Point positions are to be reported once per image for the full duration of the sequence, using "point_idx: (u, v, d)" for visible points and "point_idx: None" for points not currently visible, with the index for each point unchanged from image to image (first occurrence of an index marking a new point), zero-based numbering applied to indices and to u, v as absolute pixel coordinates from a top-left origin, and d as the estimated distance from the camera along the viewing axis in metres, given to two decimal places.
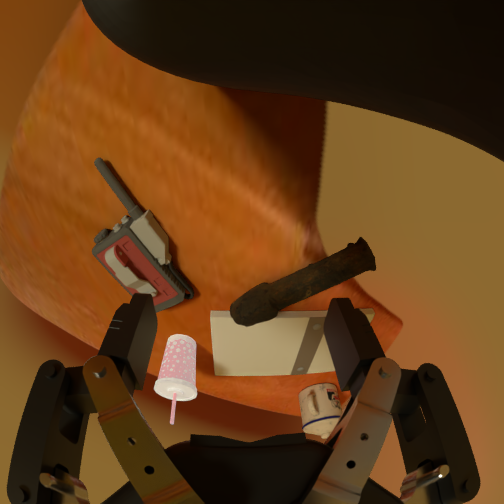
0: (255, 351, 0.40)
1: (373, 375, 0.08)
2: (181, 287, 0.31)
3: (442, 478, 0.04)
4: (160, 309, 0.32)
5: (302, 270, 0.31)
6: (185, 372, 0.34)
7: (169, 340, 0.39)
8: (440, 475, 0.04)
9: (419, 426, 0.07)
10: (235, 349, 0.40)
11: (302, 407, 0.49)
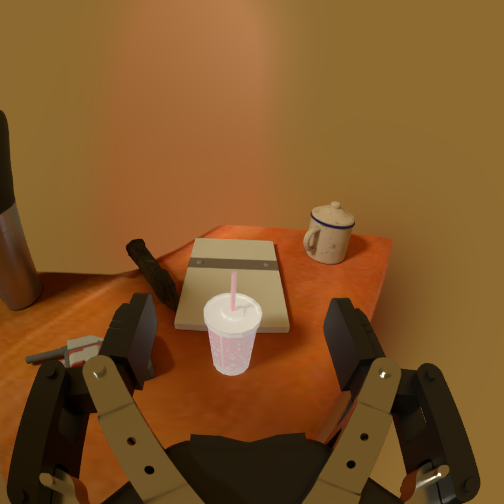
0: None
1: (373, 375, 0.08)
2: None
3: (442, 478, 0.04)
4: None
5: None
6: None
7: (218, 367, 0.31)
8: (440, 475, 0.04)
9: (419, 426, 0.07)
10: None
11: (330, 247, 0.51)
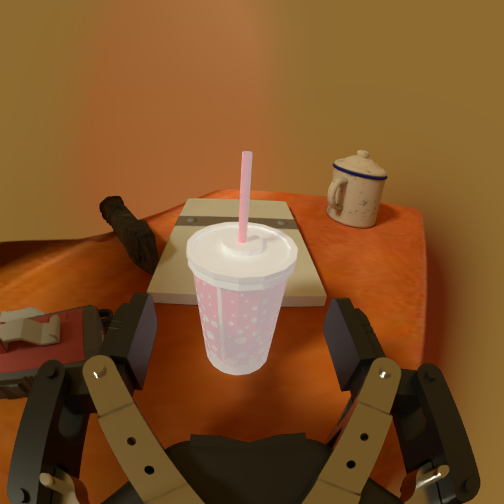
0: None
1: (373, 375, 0.08)
2: None
3: (442, 478, 0.04)
4: (94, 335, 0.16)
5: (115, 232, 0.32)
6: None
7: (214, 360, 0.17)
8: (440, 475, 0.04)
9: (419, 426, 0.07)
10: None
11: (361, 204, 0.38)
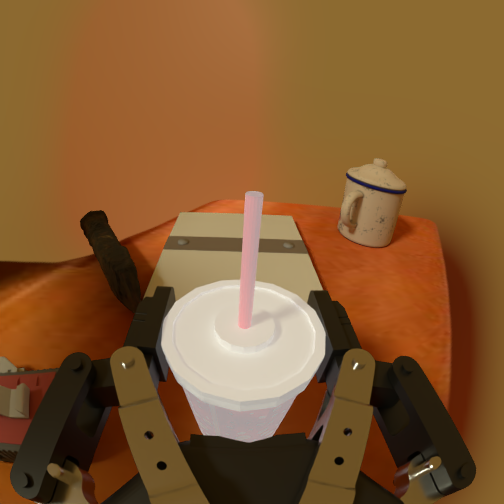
0: None
1: (346, 368, 0.08)
2: None
3: (435, 469, 0.04)
4: None
5: (96, 256, 0.27)
6: None
7: None
8: (433, 467, 0.04)
9: (402, 418, 0.08)
10: None
11: (378, 221, 0.33)
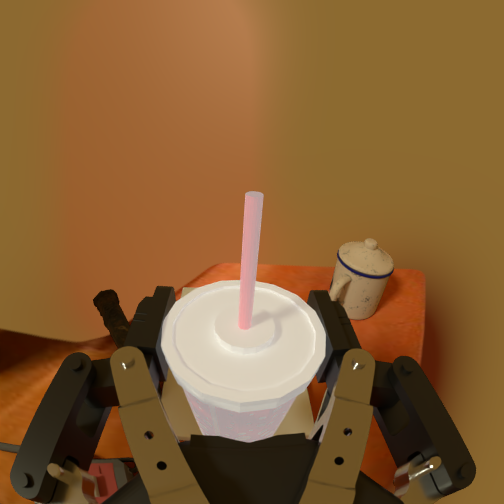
0: None
1: (347, 368, 0.08)
2: None
3: (435, 469, 0.04)
4: None
5: (114, 341, 0.31)
6: None
7: None
8: (433, 467, 0.04)
9: (402, 418, 0.08)
10: None
11: (363, 300, 0.37)
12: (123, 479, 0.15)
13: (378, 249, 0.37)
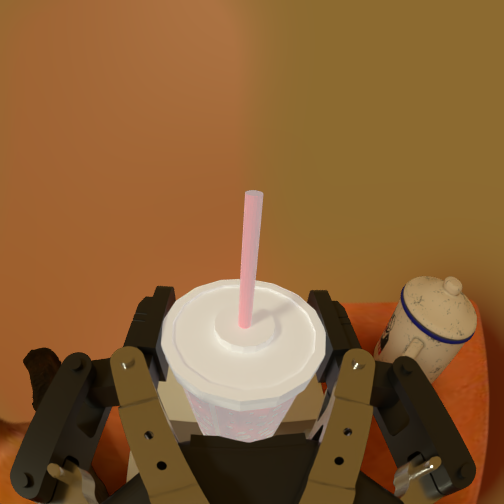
0: None
1: (347, 368, 0.08)
2: None
3: (435, 469, 0.04)
4: None
5: None
6: None
7: None
8: (433, 467, 0.04)
9: (402, 418, 0.08)
10: None
11: (432, 371, 0.19)
12: None
13: (460, 293, 0.19)
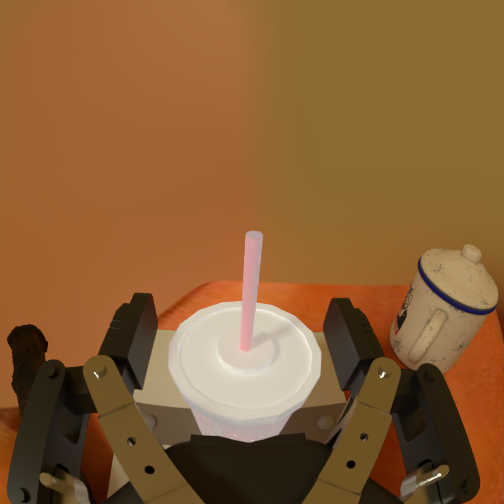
0: None
1: (373, 375, 0.08)
2: None
3: (442, 478, 0.04)
4: None
5: None
6: None
7: None
8: (440, 475, 0.04)
9: (419, 426, 0.07)
10: None
11: (455, 349, 0.17)
12: None
13: (479, 262, 0.17)
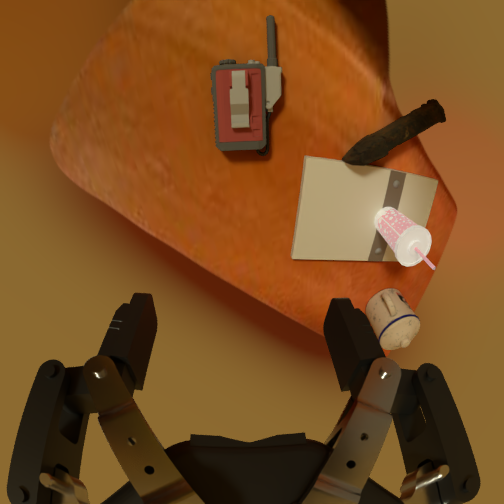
0: (341, 214, 0.39)
1: (373, 375, 0.08)
2: (265, 138, 0.32)
3: (442, 478, 0.04)
4: (234, 148, 0.32)
5: (396, 120, 0.32)
6: None
7: (382, 211, 0.38)
8: (440, 475, 0.04)
9: (419, 426, 0.07)
10: (322, 209, 0.38)
11: (375, 315, 0.47)
12: (247, 147, 0.32)
13: (399, 345, 0.43)
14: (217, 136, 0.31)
